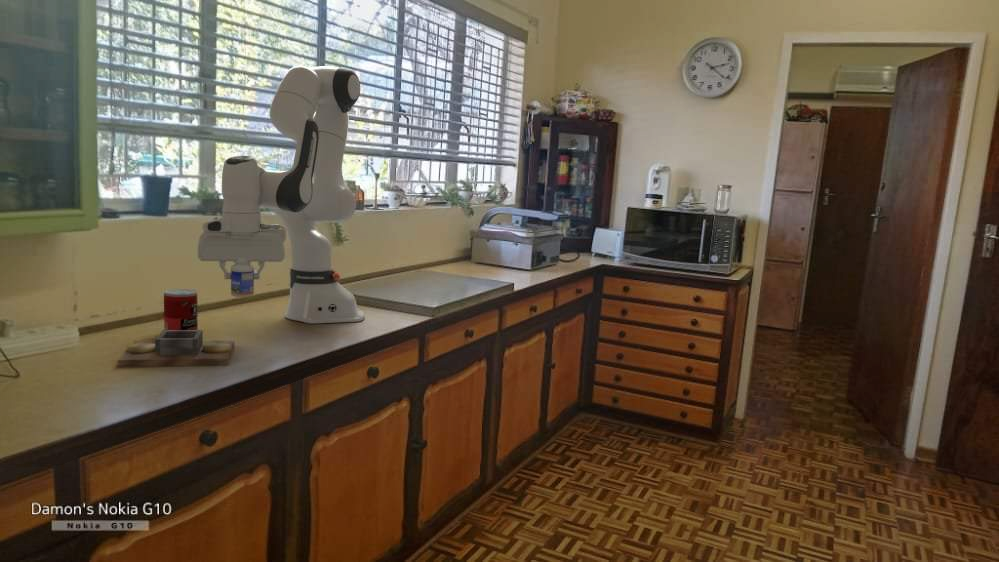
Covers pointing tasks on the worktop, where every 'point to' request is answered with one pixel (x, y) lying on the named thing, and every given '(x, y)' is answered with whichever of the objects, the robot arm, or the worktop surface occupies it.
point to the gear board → (177, 350)
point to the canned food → (180, 309)
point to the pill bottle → (242, 278)
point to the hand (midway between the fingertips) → (242, 279)
